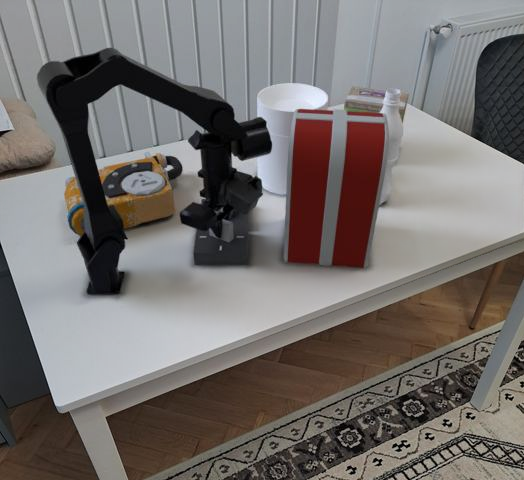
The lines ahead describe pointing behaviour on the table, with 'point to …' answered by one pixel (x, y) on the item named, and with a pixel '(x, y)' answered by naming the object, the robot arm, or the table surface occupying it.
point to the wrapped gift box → (334, 185)
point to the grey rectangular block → (225, 231)
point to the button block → (237, 216)
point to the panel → (222, 248)
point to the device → (130, 191)
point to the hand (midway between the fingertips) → (221, 235)
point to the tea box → (371, 101)
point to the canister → (283, 127)
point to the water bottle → (391, 136)
